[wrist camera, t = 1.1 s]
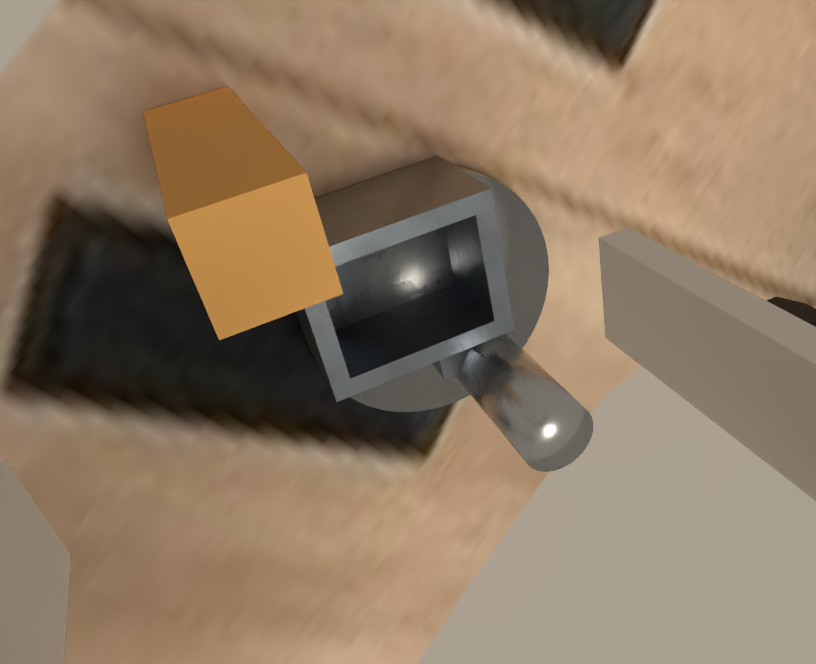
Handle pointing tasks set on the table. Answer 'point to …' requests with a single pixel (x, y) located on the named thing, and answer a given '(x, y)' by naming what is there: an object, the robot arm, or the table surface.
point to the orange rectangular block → (239, 212)
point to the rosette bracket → (442, 305)
